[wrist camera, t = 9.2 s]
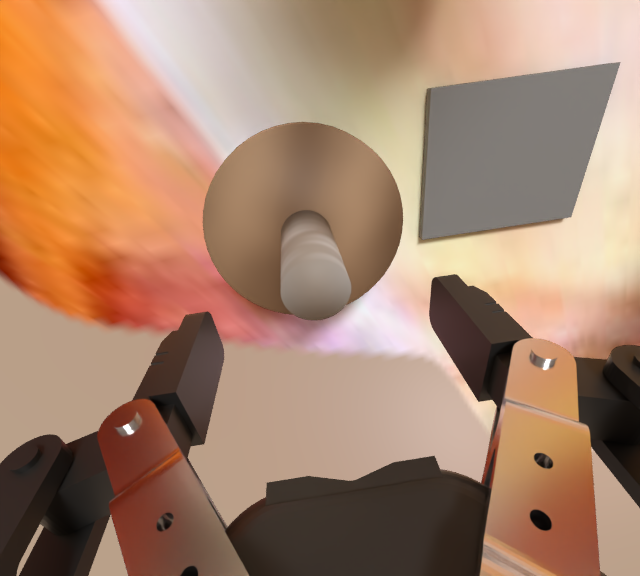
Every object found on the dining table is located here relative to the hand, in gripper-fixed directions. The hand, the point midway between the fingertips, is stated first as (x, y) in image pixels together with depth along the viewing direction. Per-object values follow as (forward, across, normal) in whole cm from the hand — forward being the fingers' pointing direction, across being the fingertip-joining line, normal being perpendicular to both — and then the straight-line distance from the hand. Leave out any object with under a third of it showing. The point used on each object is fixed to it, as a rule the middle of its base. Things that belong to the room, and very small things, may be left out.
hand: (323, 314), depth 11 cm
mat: (+14, -15, -1) cm, 20 cm away
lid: (+8, 0, 0) cm, 8 cm away
